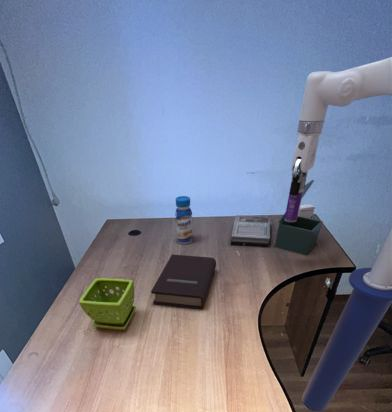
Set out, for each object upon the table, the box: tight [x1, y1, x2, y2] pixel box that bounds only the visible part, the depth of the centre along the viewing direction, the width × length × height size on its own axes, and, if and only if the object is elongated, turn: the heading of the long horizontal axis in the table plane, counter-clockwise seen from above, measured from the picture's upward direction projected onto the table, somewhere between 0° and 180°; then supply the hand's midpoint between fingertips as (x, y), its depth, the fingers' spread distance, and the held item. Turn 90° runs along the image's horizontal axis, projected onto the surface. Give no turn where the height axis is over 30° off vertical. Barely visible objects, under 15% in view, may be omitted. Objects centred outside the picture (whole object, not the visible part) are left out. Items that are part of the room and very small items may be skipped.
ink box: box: [298, 203, 316, 219], centre depth 138 cm, size 8×5×12 cm, turn 105°
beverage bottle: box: [174, 195, 194, 245], centre depth 129 cm, size 8×8×20 cm
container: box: [284, 174, 307, 222], centre depth 98 cm, size 5×5×15 cm
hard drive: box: [230, 214, 271, 248], centre depth 138 cm, size 18×27×4 cm
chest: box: [274, 216, 323, 256], centre depth 126 cm, size 16×14×11 cm
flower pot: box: [78, 277, 137, 331], centre depth 89 cm, size 14×14×13 cm
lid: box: [278, 179, 315, 224], centre depth 118 cm, size 16×14×5 cm
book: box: [150, 254, 217, 310], centre depth 105 cm, size 28×20×6 cm
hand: (296, 191), depth 96 cm, fingers closed on container, 4 cm apart
